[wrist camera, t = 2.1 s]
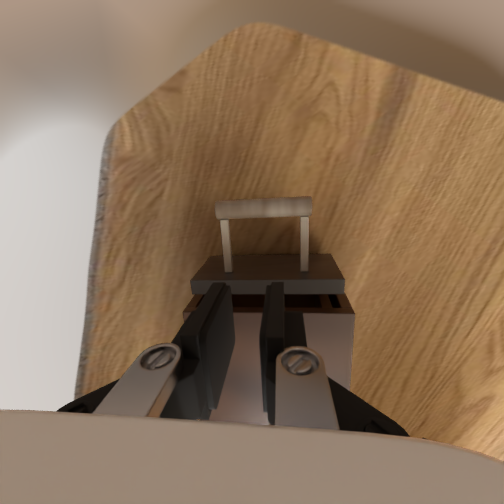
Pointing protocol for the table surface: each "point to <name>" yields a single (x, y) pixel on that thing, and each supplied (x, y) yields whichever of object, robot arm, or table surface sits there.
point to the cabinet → (248, 355)
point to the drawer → (271, 260)
